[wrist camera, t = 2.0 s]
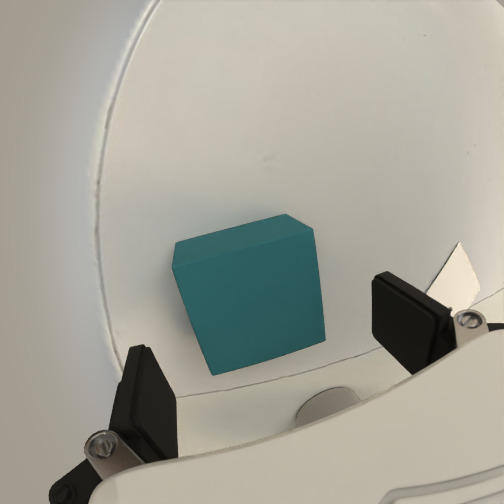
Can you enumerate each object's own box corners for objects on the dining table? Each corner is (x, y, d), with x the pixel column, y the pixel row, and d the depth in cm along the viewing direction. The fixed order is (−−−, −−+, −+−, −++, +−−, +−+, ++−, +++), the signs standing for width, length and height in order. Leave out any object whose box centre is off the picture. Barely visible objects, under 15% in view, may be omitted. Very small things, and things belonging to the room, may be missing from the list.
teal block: (175, 242, 14) (171, 266, 11) (286, 213, 15) (313, 228, 12) (206, 337, 16) (212, 376, 13) (301, 308, 17) (326, 341, 14)
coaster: (480, 287, 21) (486, 290, 21) (436, 352, 22) (440, 356, 22) (459, 241, 19) (466, 243, 18) (405, 320, 20) (411, 325, 19)
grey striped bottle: (358, 409, 22) (465, 564, 4) (303, 437, 22) (389, 608, 3) (350, 374, 20) (490, 563, 2) (285, 407, 20) (392, 622, 1)
